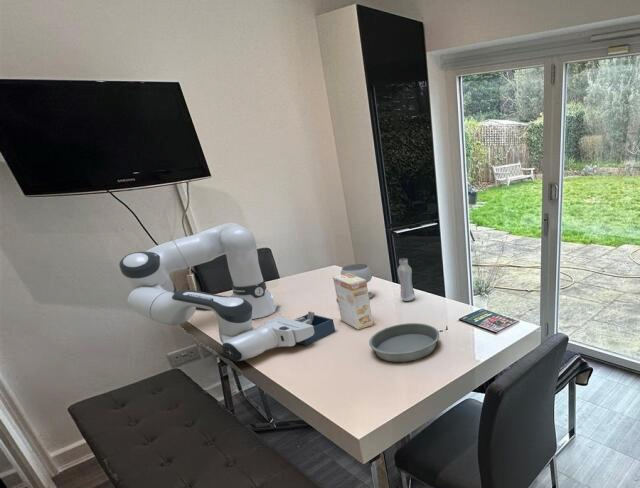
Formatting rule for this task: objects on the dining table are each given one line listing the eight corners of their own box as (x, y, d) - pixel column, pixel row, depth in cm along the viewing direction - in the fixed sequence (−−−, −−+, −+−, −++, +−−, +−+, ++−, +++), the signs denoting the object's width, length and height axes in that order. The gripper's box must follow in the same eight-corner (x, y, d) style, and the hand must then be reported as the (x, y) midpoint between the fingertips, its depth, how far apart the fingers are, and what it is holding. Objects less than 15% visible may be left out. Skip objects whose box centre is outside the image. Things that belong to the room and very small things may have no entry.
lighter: (302, 336, 156) (298, 317, 153) (299, 335, 157) (295, 316, 154) (318, 329, 162) (314, 311, 159) (315, 328, 163) (311, 310, 159)
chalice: (347, 304, 189) (341, 273, 183) (342, 295, 201) (337, 266, 195) (378, 298, 196) (373, 268, 190) (371, 290, 207) (367, 261, 201)
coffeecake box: (374, 324, 168) (366, 279, 160) (357, 330, 163) (349, 283, 155) (356, 315, 177) (348, 272, 169) (340, 320, 172) (331, 276, 165)
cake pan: (383, 333, 160) (382, 322, 158) (445, 333, 159) (444, 322, 158) (360, 364, 138) (358, 352, 136) (432, 365, 137) (431, 353, 135)
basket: (282, 338, 157) (278, 325, 155) (312, 325, 168) (309, 313, 166) (305, 345, 151) (302, 332, 149) (335, 331, 162) (332, 319, 160)
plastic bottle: (418, 299, 195) (413, 258, 187) (407, 303, 189) (402, 261, 181) (408, 296, 198) (403, 256, 190) (398, 301, 193) (392, 259, 185)
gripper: (258, 336, 152) (291, 322, 164) (295, 347, 144) (327, 332, 155) (254, 320, 150) (288, 308, 161) (291, 331, 141) (324, 317, 152)
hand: (307, 320), depth 158 cm, fingers closed on lighter, 2 cm apart
